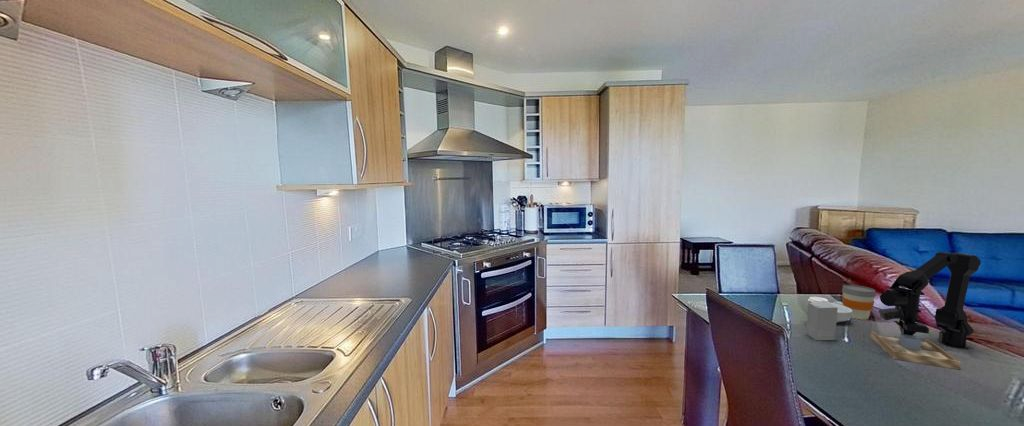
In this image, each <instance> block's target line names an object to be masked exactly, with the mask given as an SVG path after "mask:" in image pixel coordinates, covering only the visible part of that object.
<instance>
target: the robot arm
mask: <svg viewBox="0 0 1024 426" xmlns="http://www.w3.org/2000/svg"><path fill="white" fill-rule="evenodd" d="M980 266H981V259H980V258H979V256H977V255H973V254H969V253H960V252H952V253H951V252H946V251H945V252H944V251H937V252H936V253H935V255H934V256H933V257H931V258H930V259H929V260H927V261H925V263H923V264H922V265H921V266H919V267H918V268H915V270H909V271H905V272H903V273H901V274H900V275H898V276H897V278H896V279H895V281H893V282H892V284H891V285H890V287H889V289H888V288H887V289H886V290H885V292H882V293H881V294H880V295H879V301H880V302H881V304H883V305H884V306H887V307H888V308H883V309H879V310H878V313H879V315H880V318H881V319H883V320H884V321H890V320H893V322H894V323H895V324H896V325H897V326H898V327H899V330H900V334H905V335H912V336H915V334H916V333H921V334H930V328H929V327H928V326H927V325H925V324H924V323H922V322H921V319H920V318H919V313H922V309H920V302H921V301H920V300H921V296H925V292H923V290H924V289H925V288H926V287H927V286H928V285H929V280H930V279H931V278H933V277H934V276H935V275H937V274H938V273H940V272H941V271H942V270H943V269H945V268H946V267H947V268H948V270H949V272H950V277H949V282H948V286H947V292H946V296H945V302H944V305H943V306H941V308H936V309H935V315H934V322H935V324H936V327H937V328H939V329H940V328H941V329H940V330H941V331H939V333H938V338H937V341H939V342H940V343H942V344H943V345H944V346H946V347H947V346H948V347H954V348H961V349H967V350H968V349H969V346H967V337H968V336H970V335H973V333H974V328H973V327H972V326H971V325H970V324H969V323H968V319H969V318H968V315H967V314H966V312H965V311H964V306H965V300H966V297H967V291H968V287H969V281H970V279H971V278H970V277H971V276H972V275H974V274H975V273H977V272H978V270H979V267H980ZM889 307H891V308H889Z"/></svg>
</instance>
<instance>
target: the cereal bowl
mask: <svg viewBox="0 0 1024 426" xmlns="http://www.w3.org/2000/svg"><path fill="white" fill-rule="evenodd" d="M829 303H830V304H832V305H834V306H836V307H837V308H838V310H837V322H836V324H837V323H840V322H845V321H849V320H850V319H851V318H852V317H851V316H852V312H853V311H852V310H851V309H850V308H848V307H846V306H844V305H843V304H842V305H841V304H839V303H835V302H829Z"/></svg>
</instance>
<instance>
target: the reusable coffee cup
mask: <svg viewBox="0 0 1024 426" xmlns="http://www.w3.org/2000/svg"><path fill="white" fill-rule="evenodd" d="M841 292H842V296H841V301H842V306H846V307H848V308H850V309H851V310H852V311H853V312H852V316H851V318H852V319H858V320H869V318H870V315H871V311H872V310H873V307H874V305H875V297H876V290H875V289H874V288H872V287H867V286H863V285H855V284H844V285H842V288H841Z"/></svg>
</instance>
